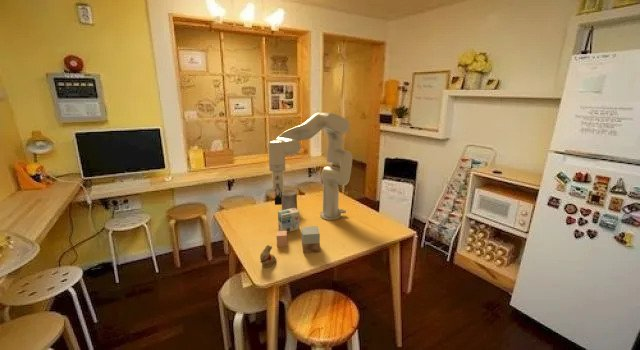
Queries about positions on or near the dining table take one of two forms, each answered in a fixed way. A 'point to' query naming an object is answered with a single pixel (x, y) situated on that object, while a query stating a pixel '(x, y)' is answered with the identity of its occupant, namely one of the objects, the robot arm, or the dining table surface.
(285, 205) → the pillar candle
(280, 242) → the block
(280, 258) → the dining table surface
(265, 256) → the chocolate bunny
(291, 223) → the light bulb box
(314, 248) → the tower base
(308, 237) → the tower top
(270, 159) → the robot arm
